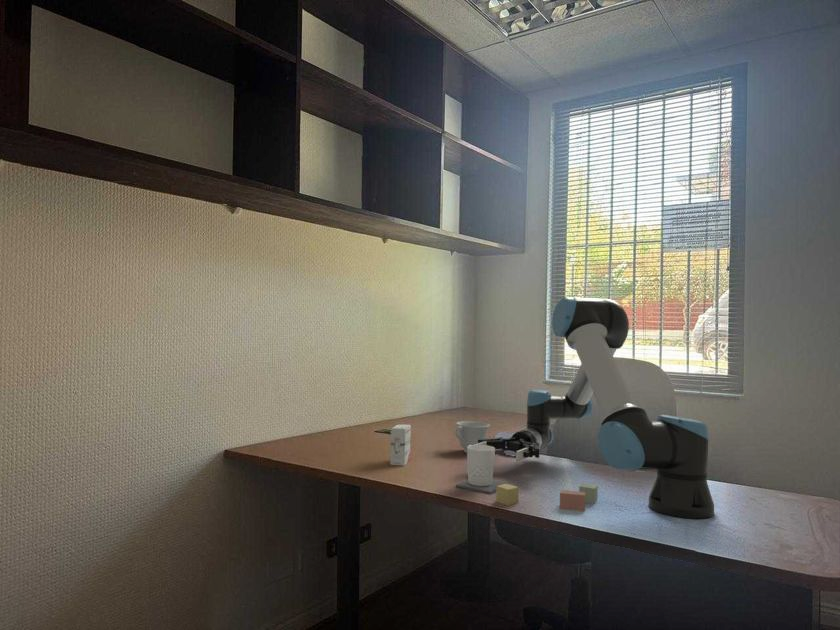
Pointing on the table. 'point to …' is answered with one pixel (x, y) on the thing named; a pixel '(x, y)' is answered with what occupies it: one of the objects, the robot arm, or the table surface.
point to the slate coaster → (485, 489)
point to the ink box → (400, 444)
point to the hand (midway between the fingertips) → (495, 452)
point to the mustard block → (507, 494)
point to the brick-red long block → (572, 500)
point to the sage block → (589, 492)
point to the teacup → (470, 432)
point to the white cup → (480, 464)
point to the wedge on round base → (506, 436)
